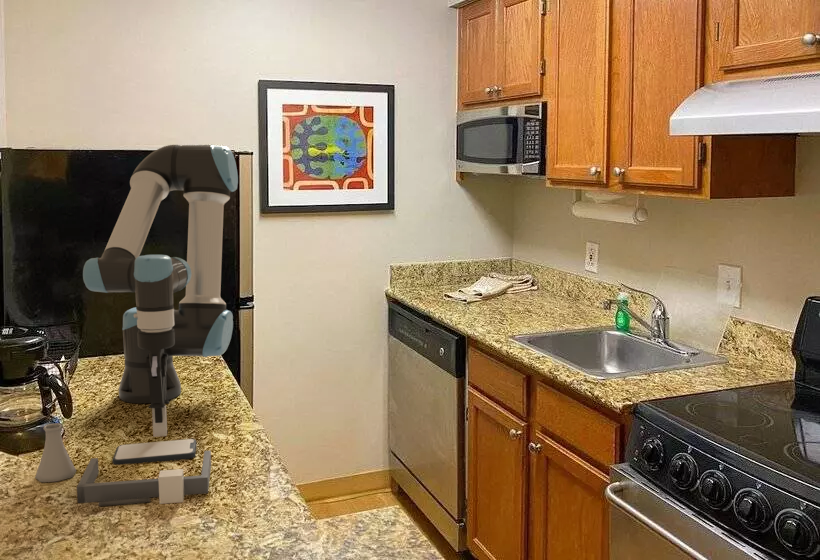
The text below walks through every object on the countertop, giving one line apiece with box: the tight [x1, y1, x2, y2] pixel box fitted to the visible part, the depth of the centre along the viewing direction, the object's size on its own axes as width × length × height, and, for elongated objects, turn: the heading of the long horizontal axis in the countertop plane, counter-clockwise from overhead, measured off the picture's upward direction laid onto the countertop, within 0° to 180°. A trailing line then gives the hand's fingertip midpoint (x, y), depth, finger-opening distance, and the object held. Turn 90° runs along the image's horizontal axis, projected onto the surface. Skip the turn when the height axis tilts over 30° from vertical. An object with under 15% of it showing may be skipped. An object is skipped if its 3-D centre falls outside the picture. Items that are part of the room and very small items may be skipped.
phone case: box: [112, 438, 197, 466], centre depth 159 cm, size 9×2×16 cm
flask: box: [34, 422, 77, 483], centre depth 147 cm, size 7×7×10 cm
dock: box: [76, 450, 212, 507], centre depth 143 cm, size 16×22×5 cm
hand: (160, 435), depth 166 cm, fingers closed
